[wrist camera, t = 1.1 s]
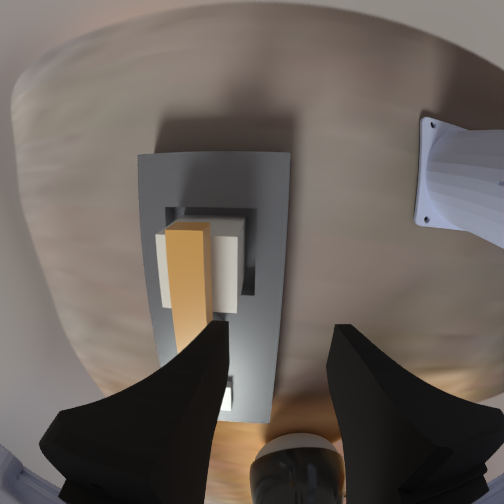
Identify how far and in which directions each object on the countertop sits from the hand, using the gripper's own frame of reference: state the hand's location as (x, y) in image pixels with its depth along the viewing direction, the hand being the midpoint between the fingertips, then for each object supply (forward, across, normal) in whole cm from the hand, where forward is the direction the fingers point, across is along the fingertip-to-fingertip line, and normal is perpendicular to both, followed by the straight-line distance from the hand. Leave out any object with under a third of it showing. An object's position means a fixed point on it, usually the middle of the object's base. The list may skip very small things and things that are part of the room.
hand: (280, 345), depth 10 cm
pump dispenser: (+10, -4, +23) cm, 25 cm away
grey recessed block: (+10, +4, +4) cm, 11 cm away
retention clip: (+4, +4, +1) cm, 5 cm away
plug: (+9, +4, -1) cm, 10 cm away
